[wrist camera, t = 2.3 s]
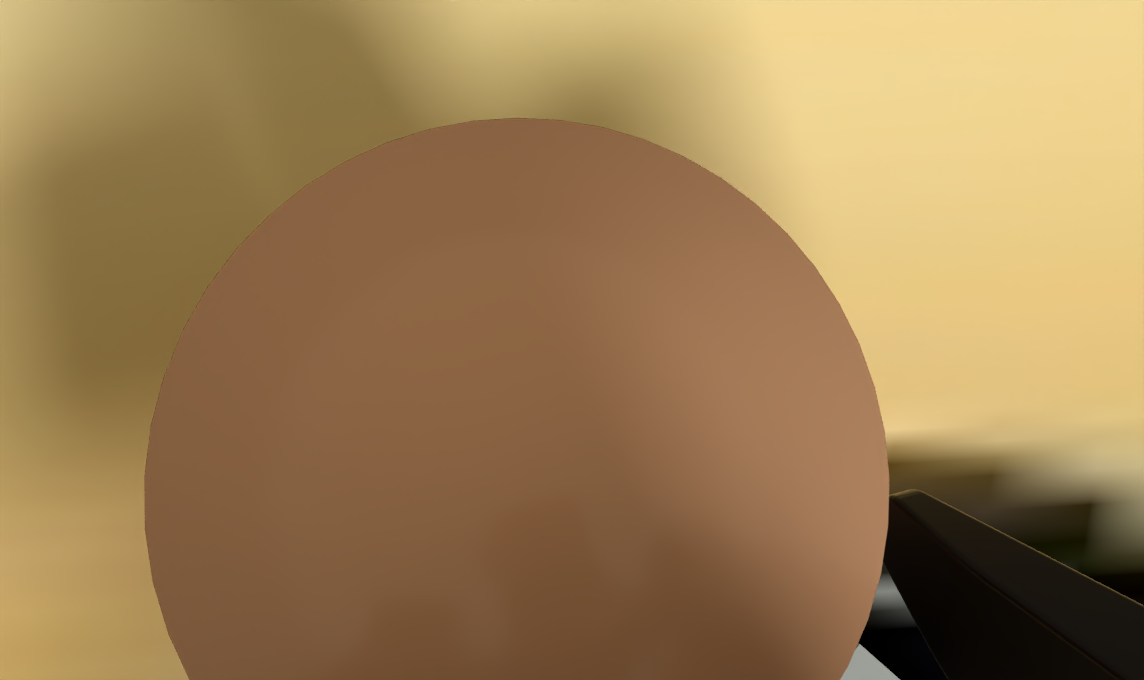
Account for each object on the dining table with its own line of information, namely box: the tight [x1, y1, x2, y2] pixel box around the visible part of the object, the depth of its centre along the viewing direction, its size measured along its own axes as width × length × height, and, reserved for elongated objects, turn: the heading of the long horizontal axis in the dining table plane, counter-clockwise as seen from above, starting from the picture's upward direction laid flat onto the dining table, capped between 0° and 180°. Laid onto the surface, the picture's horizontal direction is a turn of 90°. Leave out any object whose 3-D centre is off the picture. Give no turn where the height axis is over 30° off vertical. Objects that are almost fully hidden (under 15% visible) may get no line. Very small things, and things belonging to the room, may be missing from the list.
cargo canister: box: [145, 118, 889, 680], centre depth 12 cm, size 6×6×13 cm
